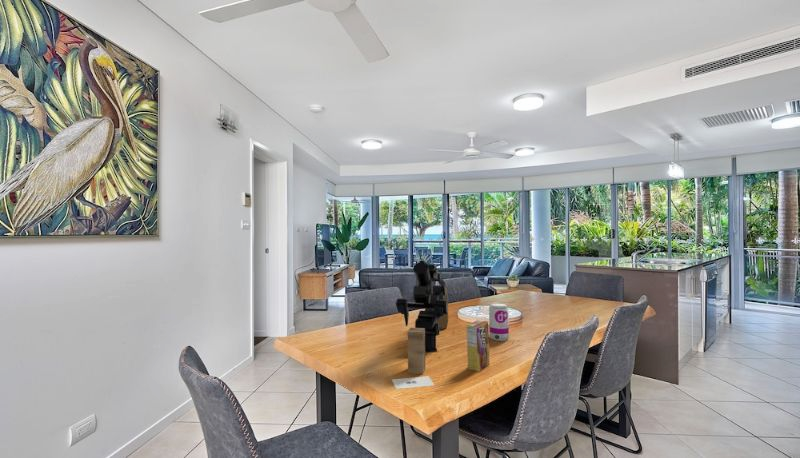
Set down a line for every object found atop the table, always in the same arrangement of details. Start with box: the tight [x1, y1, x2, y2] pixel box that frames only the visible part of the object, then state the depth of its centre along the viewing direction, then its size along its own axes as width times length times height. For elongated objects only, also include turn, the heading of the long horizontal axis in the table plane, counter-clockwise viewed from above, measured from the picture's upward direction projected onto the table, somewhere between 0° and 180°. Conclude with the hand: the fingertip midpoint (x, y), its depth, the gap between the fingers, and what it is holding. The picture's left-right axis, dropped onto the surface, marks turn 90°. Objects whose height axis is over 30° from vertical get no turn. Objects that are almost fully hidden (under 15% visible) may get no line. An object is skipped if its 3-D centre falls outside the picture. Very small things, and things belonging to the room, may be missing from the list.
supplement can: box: [488, 302, 510, 342], centre depth 154 cm, size 8×8×15 cm
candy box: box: [466, 319, 491, 373], centre depth 120 cm, size 9×4×15 cm, turn 140°
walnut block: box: [407, 327, 426, 375], centre depth 117 cm, size 5×5×14 cm
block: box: [437, 288, 449, 330], centre depth 174 cm, size 11×8×20 cm
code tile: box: [391, 375, 435, 390], centre depth 107 cm, size 12×7×1 cm, turn 102°
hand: (419, 326), depth 123 cm, fingers open, 9 cm apart
